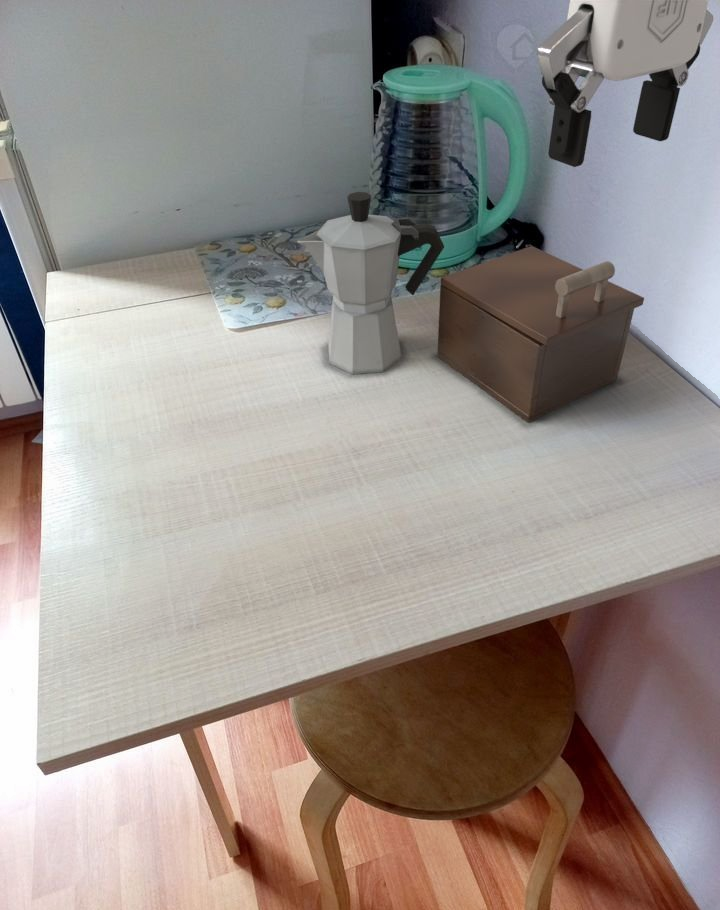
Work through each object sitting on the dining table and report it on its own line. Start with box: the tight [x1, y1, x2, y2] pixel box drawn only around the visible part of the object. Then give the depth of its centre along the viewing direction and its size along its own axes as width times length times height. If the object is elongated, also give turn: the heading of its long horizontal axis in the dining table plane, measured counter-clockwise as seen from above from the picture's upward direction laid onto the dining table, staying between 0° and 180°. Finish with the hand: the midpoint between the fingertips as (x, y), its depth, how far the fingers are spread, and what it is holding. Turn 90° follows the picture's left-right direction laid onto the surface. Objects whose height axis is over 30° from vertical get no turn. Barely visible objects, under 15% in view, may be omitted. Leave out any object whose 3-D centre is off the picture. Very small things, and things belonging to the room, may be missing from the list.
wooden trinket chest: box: [436, 284, 635, 423], centre depth 74 cm, size 15×13×9 cm
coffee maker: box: [296, 191, 445, 375], centre depth 74 cm, size 15×9×18 cm, turn 95°
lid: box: [440, 245, 645, 346], centre depth 69 cm, size 15×13×5 cm
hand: (608, 148), depth 57 cm, fingers open, 9 cm apart
